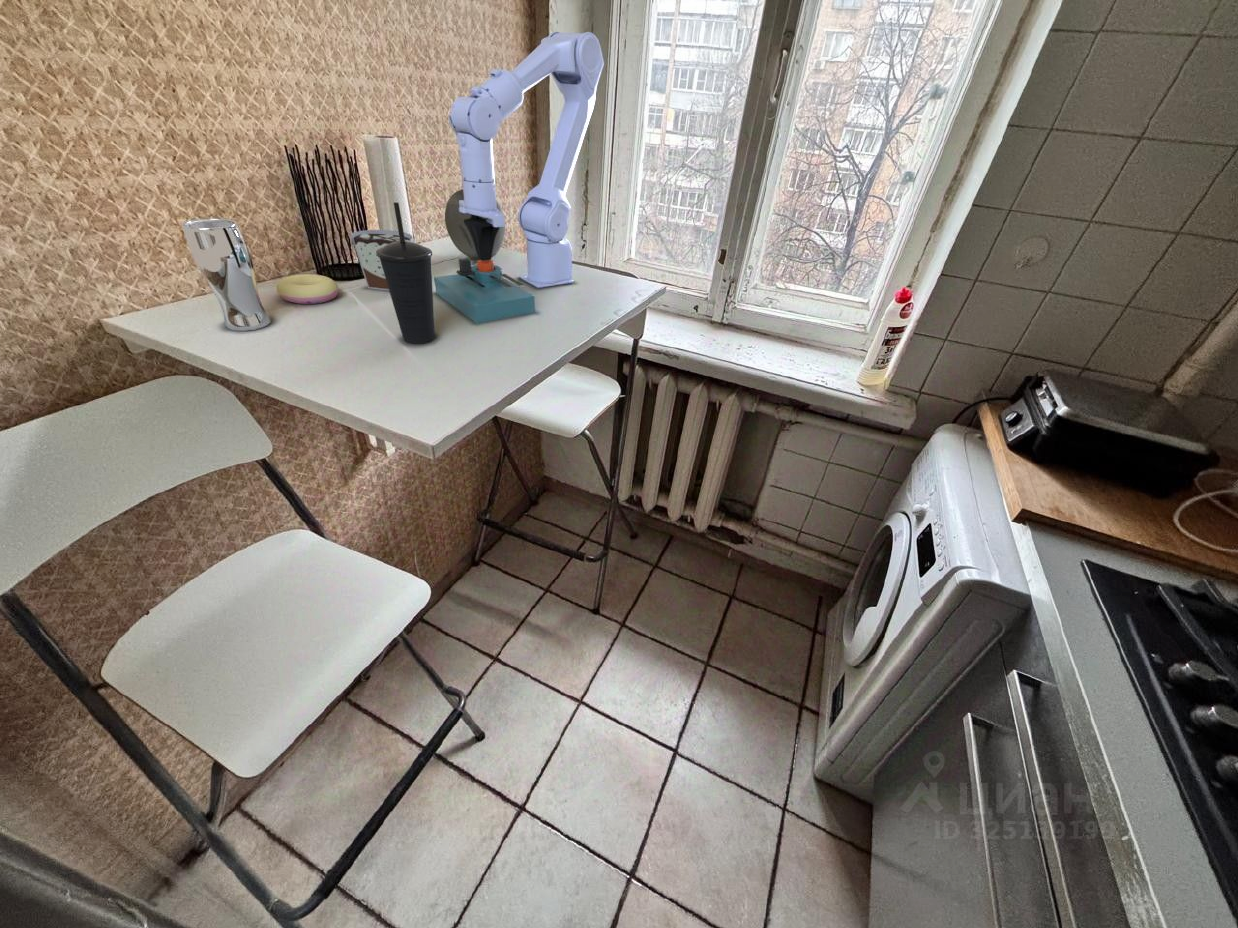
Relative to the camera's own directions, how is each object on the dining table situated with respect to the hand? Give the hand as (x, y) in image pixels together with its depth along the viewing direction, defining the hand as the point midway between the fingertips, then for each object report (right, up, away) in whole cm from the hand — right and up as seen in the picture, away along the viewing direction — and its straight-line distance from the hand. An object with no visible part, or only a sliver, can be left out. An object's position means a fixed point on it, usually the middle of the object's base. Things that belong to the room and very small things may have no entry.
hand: (484, 259), depth 96 cm
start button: (0, -2, +1) cm, 2 cm away
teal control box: (0, -9, 0) cm, 9 cm away
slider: (-2, -5, -4) cm, 7 cm away
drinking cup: (-6, -20, -16) cm, 26 cm away
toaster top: (+2, -6, -4) cm, 7 cm away
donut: (-31, -10, -5) cm, 33 cm away
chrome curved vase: (-34, -18, -16) cm, 42 cm away
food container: (-19, -4, +3) cm, 19 cm away
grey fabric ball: (-8, +10, +24) cm, 27 cm away
